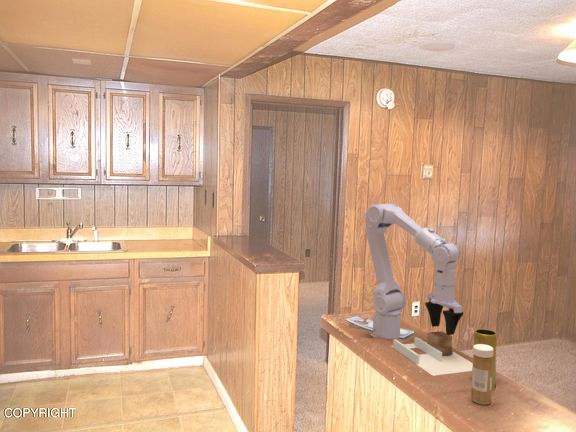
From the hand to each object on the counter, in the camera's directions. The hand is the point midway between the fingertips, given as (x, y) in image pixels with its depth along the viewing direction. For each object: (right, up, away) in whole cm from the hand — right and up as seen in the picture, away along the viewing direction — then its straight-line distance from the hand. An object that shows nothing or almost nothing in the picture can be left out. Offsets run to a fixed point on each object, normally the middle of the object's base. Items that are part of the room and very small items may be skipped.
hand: (442, 330), depth 149 cm
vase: (+5, -10, -19) cm, 22 cm away
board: (-3, -9, -3) cm, 10 cm away
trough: (-8, -7, -1) cm, 10 cm away
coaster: (0, -7, +1) cm, 7 cm away
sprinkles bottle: (+1, -11, -27) cm, 29 cm away
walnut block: (-1, -6, 0) cm, 6 cm away
